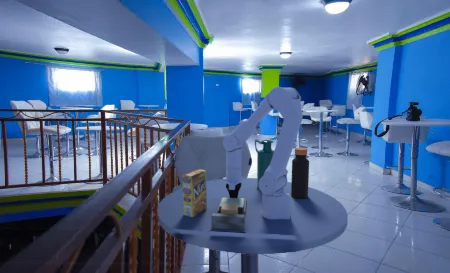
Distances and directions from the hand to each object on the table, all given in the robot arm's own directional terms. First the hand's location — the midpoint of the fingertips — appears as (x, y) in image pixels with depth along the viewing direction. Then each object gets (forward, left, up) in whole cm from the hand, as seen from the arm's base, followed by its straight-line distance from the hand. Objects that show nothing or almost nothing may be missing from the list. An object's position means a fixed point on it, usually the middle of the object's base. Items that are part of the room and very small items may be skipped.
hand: (233, 202), depth 107 cm
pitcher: (-12, -24, -2) cm, 27 cm away
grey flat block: (0, +6, -1) cm, 6 cm away
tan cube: (0, +14, -1) cm, 15 cm away
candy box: (+13, +8, -2) cm, 15 cm away
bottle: (-26, -15, -2) cm, 30 cm away
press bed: (0, +8, -2) cm, 8 cm away
